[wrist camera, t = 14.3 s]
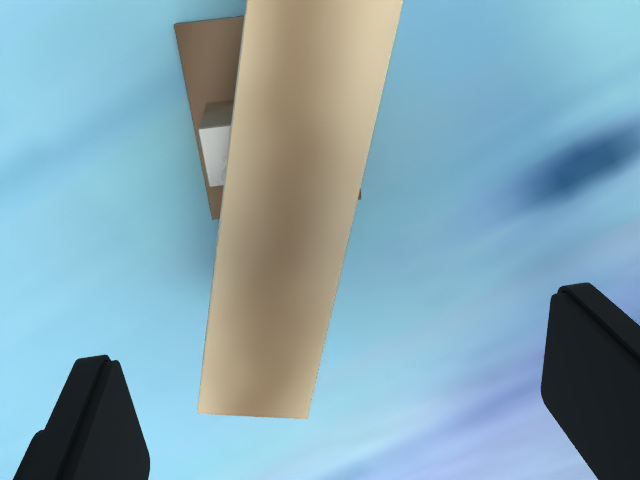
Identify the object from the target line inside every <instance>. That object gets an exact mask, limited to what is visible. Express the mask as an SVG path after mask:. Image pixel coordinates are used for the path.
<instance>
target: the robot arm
mask: <svg viewBox="0 0 640 480" xmlns="http://www.w3.org/2000/svg"><path fill="white" fill-rule="evenodd" d="M541 395H542V399H543V401H544V404H545V405H546V407H547V408H548V410H549V411H550V413H551V414H552V415H553V417H554V418H555V420H556V421H557V422H558V424H559V425H560V427H561V428H562V429H563V431H564V432H565V434H566V435H567V436H568V438H569V439H570V441H571V442H572V443H573V445H574V446H575V448H576V449H577V450H578V452H579V453H580V455H581V456H582V457H583V459H584V460H585V462H586V463H587V464H588V466H589V467H590V469H591V470H592V471H593V473H594V474H595V476H596V477H597V478H598V480H640V326H639V325H638V324H637V323H636V322H635V321H633V320H632V319H631V318H630V317H629V316H628V315H627V314H625V313H624V312H623V311H622V310H621V309H620V308H618V307H617V306H616V305H615V304H614V303H613V302H611V301H610V300H609V299H608V298H607V297H606V296H605V295H603V294H602V293H601V292H600V291H599V290H598V289H596V288H595V287H594V286H593V285H592V284H590V283H579V284H573V285H566V286H562V287H560V288H559V290H558V292H557V294H554V295H552V297H551V302H550V310H549V319H548V328H547V337H546V346H545V355H544V364H543V373H542V382H541ZM149 472H150V457H149V452H148V449H147V446H146V443H145V440H144V437H143V433H142V430H141V427H140V424H139V421H138V418H137V415H136V412H135V409H134V405H133V402H132V399H131V396H130V393H129V390H128V387H127V384H126V381H125V377H124V374H123V371H122V368H121V365H120V363H119V361H117V360H114V361H111V360H110V358H109V357H108V355H100V356H93V357H86V358H80V359H77V360H76V362H75V363H74V365H73V368H72V370H71V372H70V374H69V376H68V379H67V381H66V383H65V385H64V387H63V390H62V392H61V394H60V396H59V398H58V401H57V403H56V405H55V407H54V409H53V412H52V414H51V416H50V418H49V420H48V423H47V425H46V427H45V429H44V430H40V431H39V432H37V433H36V434H35V435H34V437H33V439H32V440H31V442H30V444H29V447H28V449H27V451H26V453H25V455H24V457H23V459H22V461H21V463H20V466H19V468H18V470H17V472H16V474H15V476H14V478H13V480H148V477H149Z"/></svg>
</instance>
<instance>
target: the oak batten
mask: <svg viewBox="0 0 640 480" xmlns="http://www.w3.org/2000/svg"><path fill="white" fill-rule="evenodd" d="M402 4H403V0H246V6H245V14H244V22H243V31H242V39H241V47H240V55H239V64H238V72H237V80H236V89H235V97H234V105H233V113H232V122H231V130H230V138H229V146H228V155H227V163H226V171H225V179H224V188H223V196H222V204H221V212H220V221H219V229H218V237H217V245H216V254H215V262H214V270H213V278H212V287H211V295H210V303H209V311H208V320H207V328H206V336H205V345H204V354H203V364H202V373H201V383H200V392H199V402H198V411H197V414H215V415H235V416H255V417H274V418H294V419H307V418H308V413H309V409H310V405H311V400H312V396H313V392H314V387H315V383H316V379H317V374H318V370H319V365H320V361H321V357H322V352H323V348H324V344H325V339H326V335H327V331H328V326H329V322H330V318H331V313H332V309H333V305H334V300H335V296H336V292H337V287H338V283H339V278H340V274H341V270H342V265H343V261H344V257H345V252H346V248H347V244H348V239H349V235H350V231H351V226H352V222H353V218H354V213H355V209H356V205H357V200H358V196H359V191H360V187H361V183H362V178H363V174H364V170H365V165H366V161H367V157H368V152H369V148H370V144H371V139H372V135H373V131H374V126H375V122H376V118H377V113H378V109H379V104H380V100H381V96H382V91H383V87H384V83H385V78H386V74H387V70H388V65H389V61H390V57H391V52H392V48H393V44H394V39H395V35H396V31H397V26H398V22H399V17H400V13H401V9H402Z"/></svg>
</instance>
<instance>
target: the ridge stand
mask: <svg viewBox="0 0 640 480" xmlns="http://www.w3.org/2000/svg"><path fill="white" fill-rule="evenodd" d="M243 22H244V16H239V17H230V18H220V19H211V20H202V21H193V22H184V23H176V24H175V25H174V28H175V33H176V39H177V44H178V49H179V54H180V59H181V64H182V69H183V74H184V79H185V84H186V89H187V94H188V99H189V104H190V109H191V114H192V119H193V124H194V129H195V134H196V139H197V144H198V149H199V155H200V160H201V165H202V170H203V175H204V180H205V185H206V190H207V195H208V200H209V205H210V210H211V215H212V220H213V219H220V212H221V204H222V196H223V188H224V179H225V171H226V163H227V155H228V146H229V138H230V130H231V122H232V113H233V105H234V97H235V89H236V80H237V72H238V64H239V55H240V47H241V39H242V31H243ZM359 199H361V188H360V191H359V196H358V200H359Z"/></svg>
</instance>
